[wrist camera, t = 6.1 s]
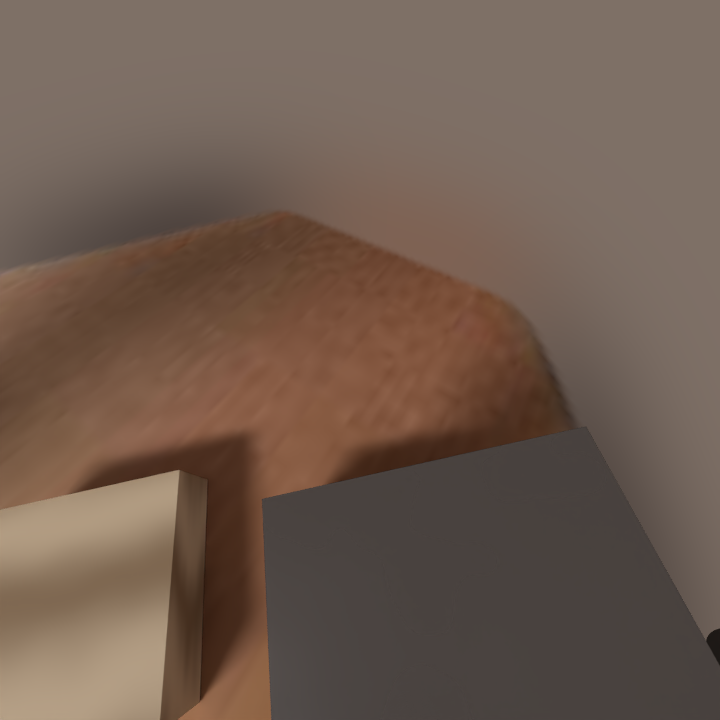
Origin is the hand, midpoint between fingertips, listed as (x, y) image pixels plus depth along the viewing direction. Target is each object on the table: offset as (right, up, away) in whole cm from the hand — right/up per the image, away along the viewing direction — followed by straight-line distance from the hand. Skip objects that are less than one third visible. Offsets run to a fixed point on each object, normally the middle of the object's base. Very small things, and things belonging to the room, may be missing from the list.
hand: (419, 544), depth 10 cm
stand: (-15, -7, +7) cm, 18 cm away
